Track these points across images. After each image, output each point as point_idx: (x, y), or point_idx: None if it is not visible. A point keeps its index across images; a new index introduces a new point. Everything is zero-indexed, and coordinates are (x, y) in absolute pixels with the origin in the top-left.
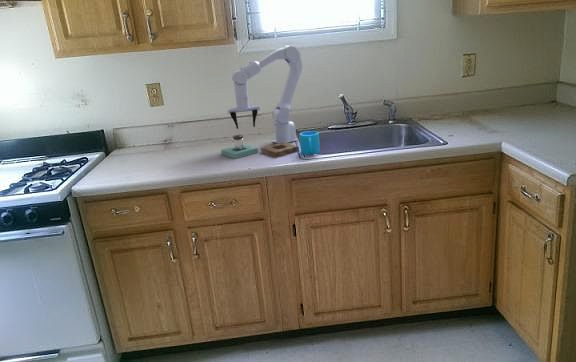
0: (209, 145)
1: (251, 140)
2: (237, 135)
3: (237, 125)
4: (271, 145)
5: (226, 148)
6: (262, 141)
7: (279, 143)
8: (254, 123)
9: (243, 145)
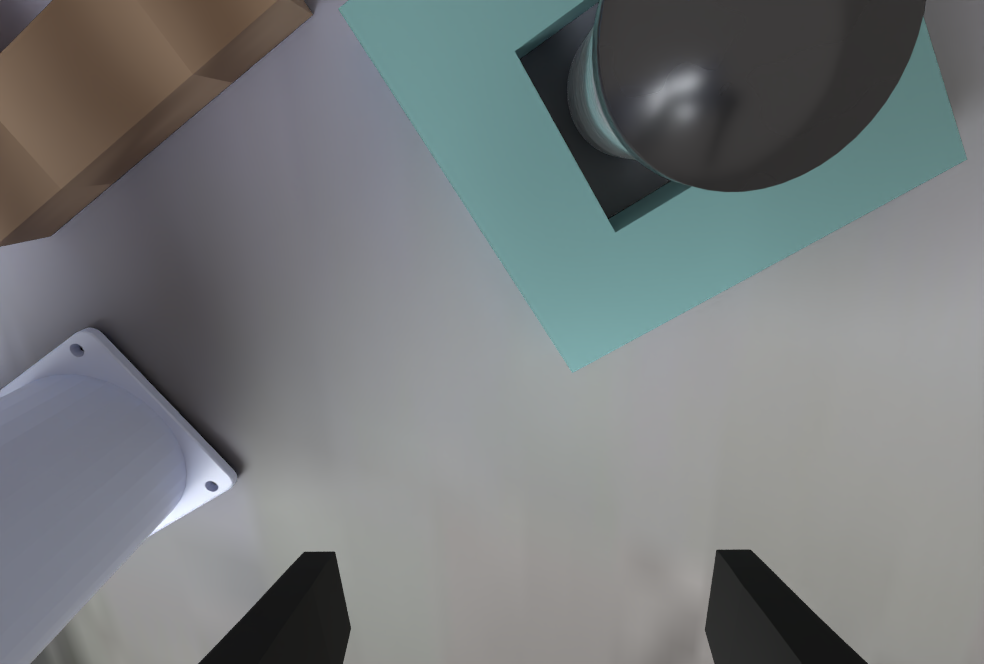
0: (965, 607)
1: (488, 617)
2: (764, 98)
3: (768, 611)
4: (124, 102)
5: (864, 204)
6: (362, 541)
7: (21, 180)
8: (252, 612)
9: (587, 43)
